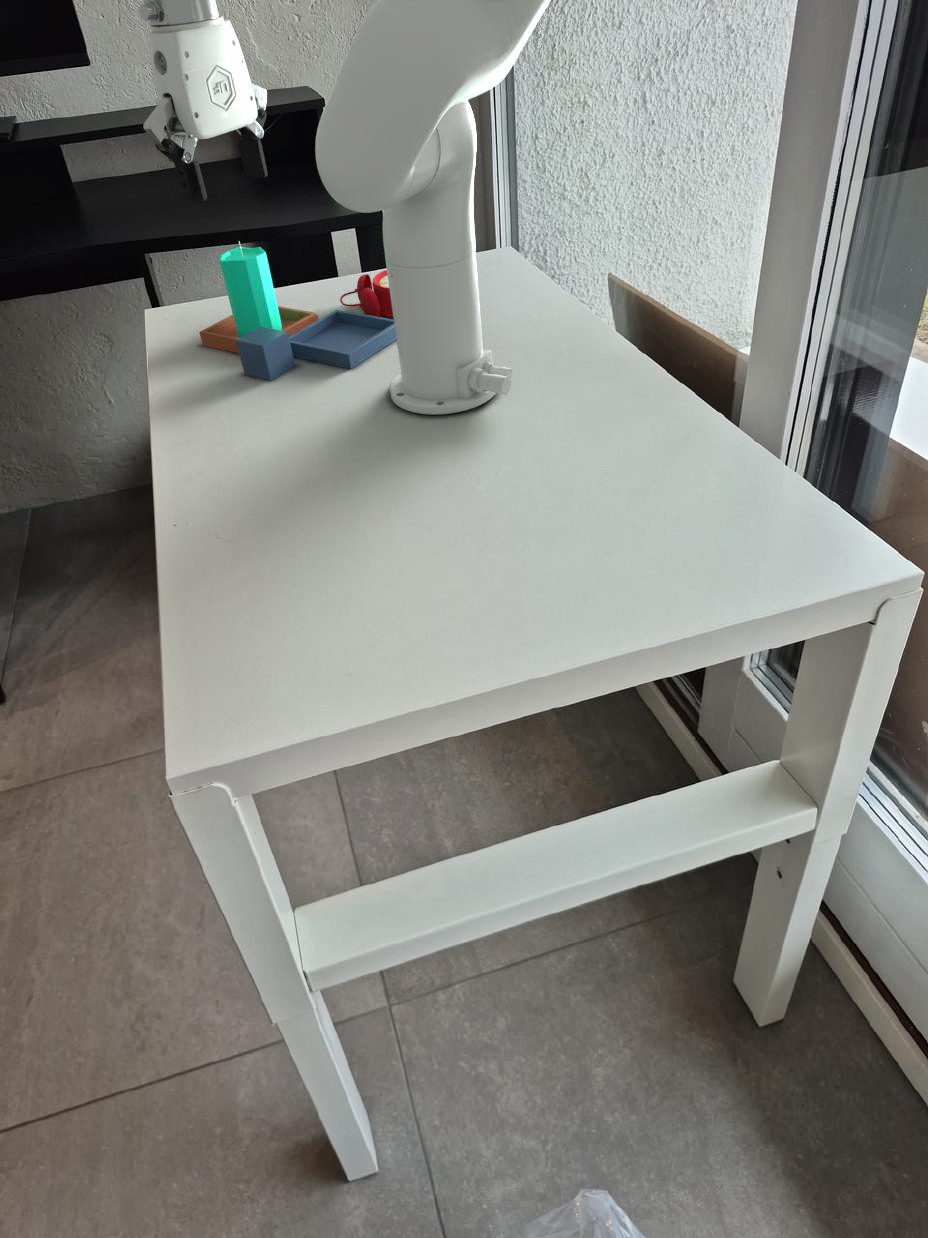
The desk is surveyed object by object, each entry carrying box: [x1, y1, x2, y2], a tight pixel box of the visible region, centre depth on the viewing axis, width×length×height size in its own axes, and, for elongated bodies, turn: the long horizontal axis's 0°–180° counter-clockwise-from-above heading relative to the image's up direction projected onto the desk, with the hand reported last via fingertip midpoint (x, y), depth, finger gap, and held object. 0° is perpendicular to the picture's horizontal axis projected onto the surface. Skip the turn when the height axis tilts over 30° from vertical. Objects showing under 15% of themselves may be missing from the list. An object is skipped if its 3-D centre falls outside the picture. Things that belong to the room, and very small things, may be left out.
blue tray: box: [289, 309, 397, 370], centre depth 117 cm, size 11×11×2 cm
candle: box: [218, 240, 282, 338], centre depth 118 cm, size 6×6×12 cm
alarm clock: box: [339, 269, 394, 319], centre depth 124 cm, size 10×6×15 cm
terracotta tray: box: [198, 305, 319, 354], centre depth 122 cm, size 11×11×2 cm
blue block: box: [236, 327, 296, 382], centre depth 112 cm, size 4×4×4 cm
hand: (227, 187), depth 104 cm, fingers open, 9 cm apart
